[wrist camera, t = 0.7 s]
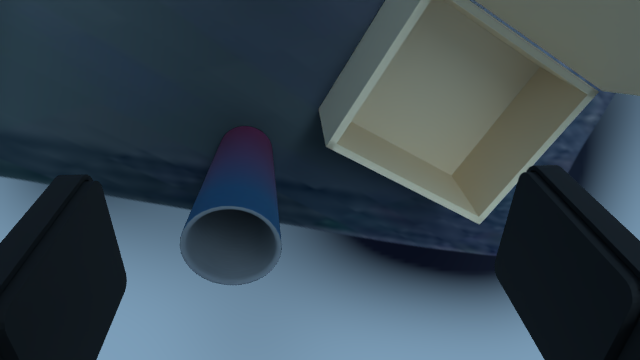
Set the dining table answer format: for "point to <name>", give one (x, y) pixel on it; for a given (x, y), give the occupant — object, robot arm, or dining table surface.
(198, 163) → the dining table surface
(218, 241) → the cup
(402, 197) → the dining table surface
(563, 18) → the lid
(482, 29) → the carton
